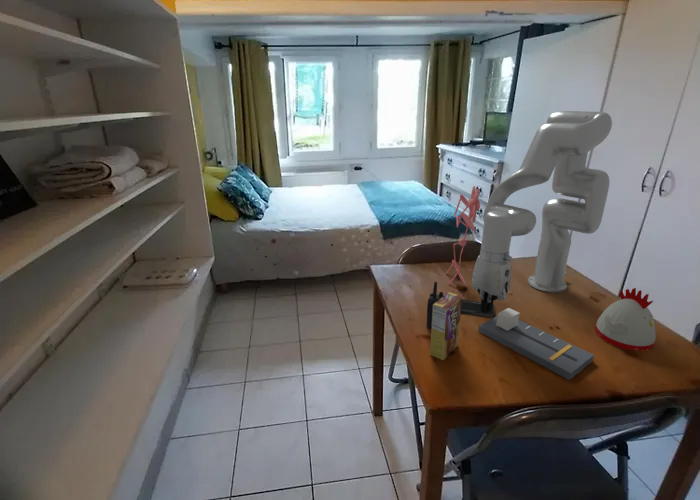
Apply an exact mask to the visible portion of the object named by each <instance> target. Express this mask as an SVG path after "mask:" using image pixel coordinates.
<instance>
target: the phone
mask: <svg viewBox="0 0 700 500" xmlns="http://www.w3.org/2000/svg"><path fill="white" fill-rule="evenodd" d="M495 312H496V311H495V304H494V303H493V308H492V311H490V312H488V313H486V314H484V313H483V312H481V301H478V300H477V301H475V300H468V299H462V303H461V314H466V315H473V316H479V317H480V316H481V317H486V318H494V317H496V314H495Z"/></svg>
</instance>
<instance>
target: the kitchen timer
mask: <svg viewBox="0 0 700 500" xmlns="http://www.w3.org/2000/svg"><path fill="white" fill-rule="evenodd" d="M649 294H650V293H646V294H645V295H644V296H643V297H642V289H640V290H638V292H637V288H636V287H634V288H632V290H631V291H630V289H629V288H627V289H625V294H624V291H623V290H619V297H620V299H618V300H616V301H614V302H613V303H611V304H610V305H608V307H606V308H605V310H603V312H602V313H601V315H599V317H598V318H597V321H596V324H595V328H594V331H595V333H596V335H597V337H599V338H600V339H601V340H603V341H604V342H606V343H608V344H610V345H613V346H615V347H617V348H621V349H623V350H627V349H628V351H632V350H639V351H638V352H642V351H641V350H647V349H649V350H651V349H652V348H653V347H654V346H655V342H656V338H657V337H656V336H657V335H656V325H655V324H656V323H655V319H654V316H653V313H652V311H651V310H650V309H649V306H650V305H651V304H652V303H654V300H650V301H648V299H649ZM653 345H654V346H653ZM652 346H653V347H652ZM651 347H652V348H651ZM650 348H651V349H650ZM647 351H648V350H647Z"/></svg>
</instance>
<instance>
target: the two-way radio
mask: <svg viewBox="0 0 700 500" xmlns="http://www.w3.org/2000/svg"><path fill="white" fill-rule="evenodd" d="M437 292H438V282H437V281H434V283H433V291H432V293H430V294H429V297H428V300H427V305H426V306H427V307H426V328H427V329H430V330H431V328H432V312H433V304H435V303H436V302H437V301H438V300H440V299H441V298H442V297H443V296H444V292H443V291H439V294H438V293H437Z"/></svg>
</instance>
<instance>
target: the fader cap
mask: <svg viewBox="0 0 700 500" xmlns="http://www.w3.org/2000/svg"><path fill="white" fill-rule="evenodd" d="M520 315H521V314H520V312H519V311H517V310H514V309H512V308H510V307H507V308H505V309H504V310H500V311H499V312H498V313H497V316H498V318H497V324H496V325H497V326H499V327H501V328H503V329H505V330H507V331H508V330H510V329H512V328H513V327H515V326H517V325H518V321H519V320H520Z"/></svg>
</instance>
